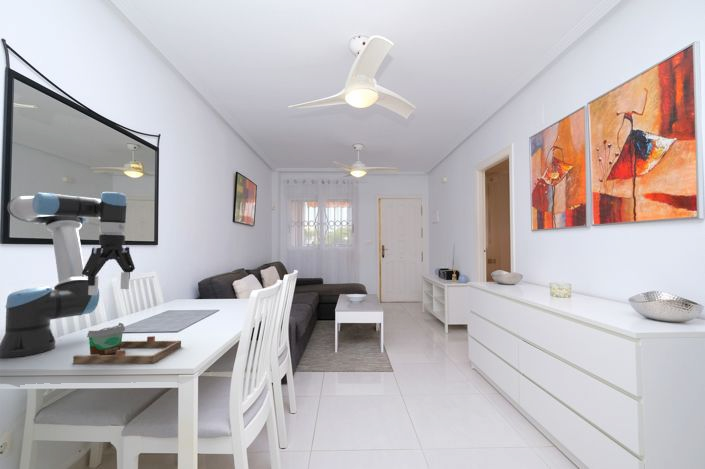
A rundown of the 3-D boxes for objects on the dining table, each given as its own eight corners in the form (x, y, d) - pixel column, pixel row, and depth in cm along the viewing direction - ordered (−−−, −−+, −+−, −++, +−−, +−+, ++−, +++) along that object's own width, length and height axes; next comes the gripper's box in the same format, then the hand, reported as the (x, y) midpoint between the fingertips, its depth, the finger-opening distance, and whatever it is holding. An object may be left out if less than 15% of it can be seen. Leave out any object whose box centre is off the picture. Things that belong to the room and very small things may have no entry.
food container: (100, 361, 106) (101, 332, 106) (86, 360, 107) (87, 331, 107) (132, 349, 118) (133, 323, 118) (119, 348, 119) (120, 322, 119)
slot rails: (73, 363, 104) (73, 351, 104) (111, 347, 121) (112, 336, 121) (153, 363, 104) (153, 350, 104) (181, 346, 121) (181, 336, 121)
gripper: (91, 233, 101) (87, 298, 100) (146, 235, 126) (144, 287, 125) (69, 233, 101) (66, 297, 101) (129, 234, 126) (127, 286, 126)
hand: (109, 291), depth 113 cm, fingers open, 13 cm apart
